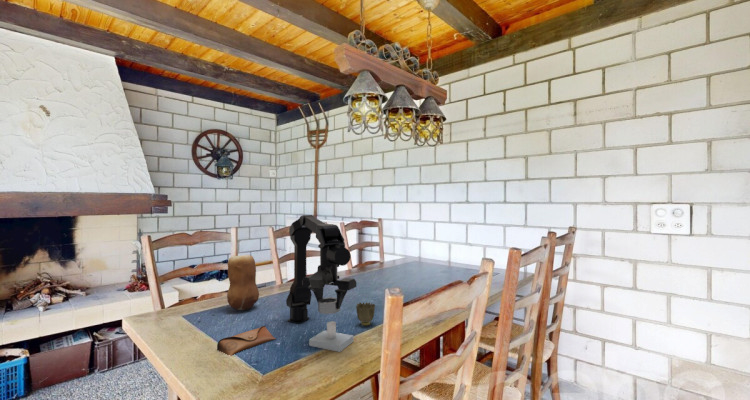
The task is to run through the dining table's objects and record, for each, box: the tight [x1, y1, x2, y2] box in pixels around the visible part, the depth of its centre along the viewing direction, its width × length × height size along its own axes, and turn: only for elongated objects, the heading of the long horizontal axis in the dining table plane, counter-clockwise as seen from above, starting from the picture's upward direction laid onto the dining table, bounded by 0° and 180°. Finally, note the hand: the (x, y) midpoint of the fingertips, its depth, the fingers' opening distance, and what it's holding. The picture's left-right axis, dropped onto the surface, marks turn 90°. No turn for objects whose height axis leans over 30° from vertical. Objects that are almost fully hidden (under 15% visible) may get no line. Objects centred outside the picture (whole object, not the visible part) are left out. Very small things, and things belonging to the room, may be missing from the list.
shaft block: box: [308, 320, 354, 353], centre depth 113 cm, size 12×9×7 cm
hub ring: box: [317, 296, 341, 315], centre depth 113 cm, size 7×7×4 cm
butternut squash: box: [226, 254, 260, 311], centre depth 151 cm, size 14×13×25 cm
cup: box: [355, 301, 376, 327], centre depth 130 cm, size 8×7×8 cm
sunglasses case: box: [216, 325, 277, 357], centre depth 114 cm, size 18×7×7 cm
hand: (329, 307), depth 113 cm, fingers closed on hub ring, 7 cm apart
